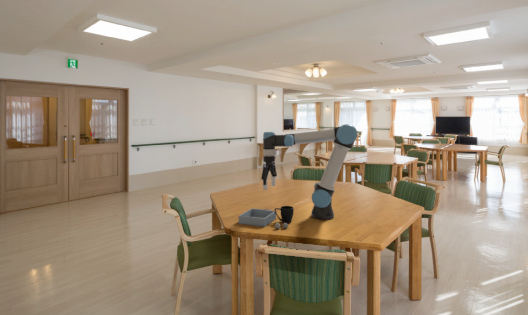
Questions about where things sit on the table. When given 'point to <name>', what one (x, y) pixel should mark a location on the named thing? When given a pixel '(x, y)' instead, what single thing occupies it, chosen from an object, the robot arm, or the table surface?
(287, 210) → the mug
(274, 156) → the robot arm
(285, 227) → the pebble
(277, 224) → the pebble
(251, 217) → the bin
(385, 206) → the table surface
